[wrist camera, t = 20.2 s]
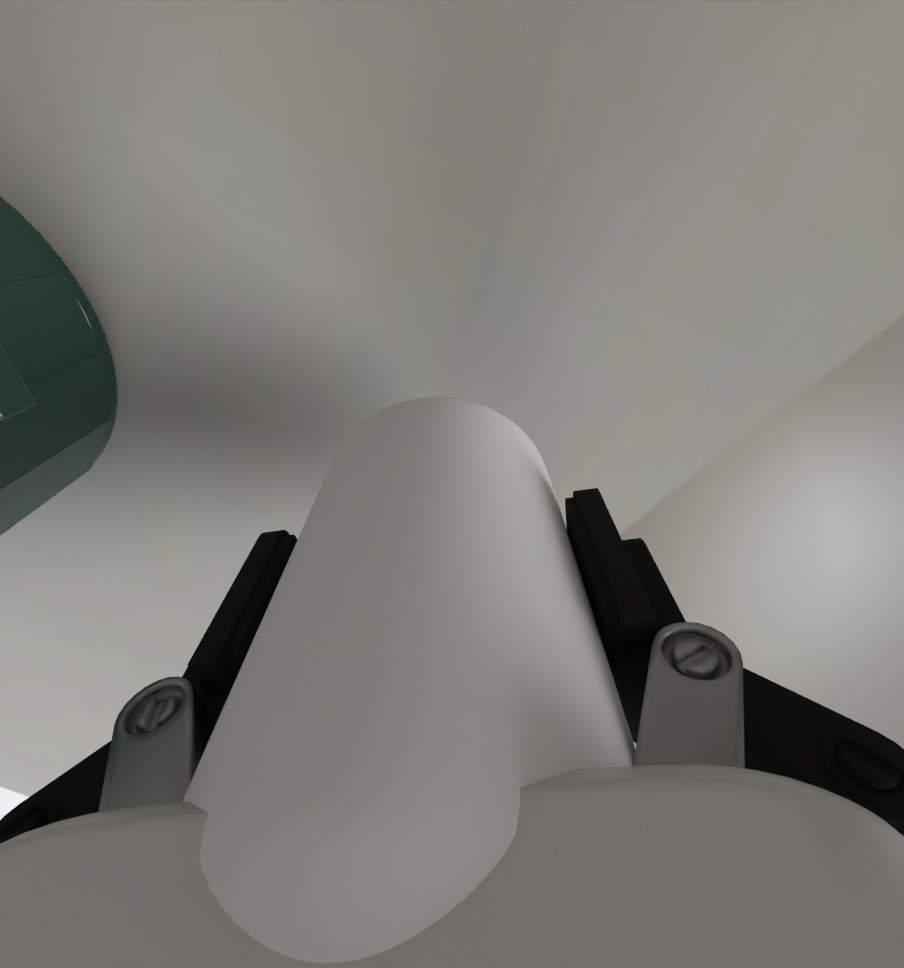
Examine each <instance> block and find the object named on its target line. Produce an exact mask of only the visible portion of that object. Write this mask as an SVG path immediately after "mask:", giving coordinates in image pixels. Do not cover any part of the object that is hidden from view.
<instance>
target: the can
mask: <svg viewBox="0 0 904 968" xmlns="http://www.w3.org/2000/svg"><path fill="white" fill-rule="evenodd" d="M635 751H636V750H635V747H634V743H633V740H632V737H631V733H630V730H629V727H628V724H627V721H626V717H625V714H624V711H623V708H622V705H621V701H620V698H619V695H618V692H617V689H616V685H615V682H614V679H613V676H612V672H611V669H610V666H609V663H608V660H607V657H606V653H605V650H604V647H603V644H602V641H601V637H600V634H599V631H598V628H597V625H596V622H595V618H594V615H593V612H592V609H591V606H590V603H589V599H588V596H587V593H586V590H585V587H584V583H583V580H582V577H581V574H580V571H579V568H578V565H577V561H576V558H575V555H574V552H573V549H572V546H571V543H570V539H569V536H568V533H567V530H566V527H565V524H564V521H563V518H562V514H561V511H560V508H559V505H558V502H557V499H556V496H555V493H554V490H553V487H552V484H551V481H550V478H549V475H548V472H547V469H546V467H545V464H544V462H543V460H542V457H541V455H540V454H539V452H538V450H537V448H536V447H535V445H534V444H533V442H532V441H531V440H530V438H529V437H528V436H527V435H526V434H525V433H524V432H523V431H522V430H521V429H520V428H519V427H518V426H517V425H516V424H515V423H513V422H512V421H511V420H509V419H508V418H506V417H505V416H503V415H502V414H500V413H498V412H496V411H494V410H492V409H490V408H488V407H486V406H483V405H480V404H477V403H474V402H471V401H467V400H462V399H456V398H447V397H428V398H419V399H413V400H408V401H404V402H401V403H398V404H395V405H392V406H390V407H387V408H385V409H383V410H381V411H379V412H377V413H376V414H374V415H372V416H371V417H369V418H368V419H366V420H365V421H364V422H363V423H361V424H360V425H359V426H358V427H357V428H356V429H355V430H354V431H353V432H352V433H351V434H350V435H349V437H348V438H347V439H346V441H345V442H344V444H343V445H342V447H341V448H340V450H339V452H338V453H337V455H336V457H335V459H334V461H333V463H332V465H331V467H330V470H329V472H328V474H327V476H326V478H325V480H324V483H323V485H322V487H321V489H320V491H319V494H318V496H317V498H316V500H315V502H314V505H313V507H312V509H311V511H310V514H309V516H308V518H307V520H306V522H305V525H304V527H303V529H302V531H301V534H300V536H299V538H298V540H297V543H296V545H295V547H294V549H293V551H292V554H291V556H290V558H289V560H288V563H287V565H286V567H285V569H284V572H283V574H282V576H281V578H280V581H279V583H278V585H277V587H276V590H275V592H274V594H273V596H272V599H271V601H270V603H269V605H268V608H267V610H266V612H265V614H264V617H263V619H262V621H261V623H260V626H259V628H258V630H257V632H256V635H255V637H254V639H253V641H252V644H251V646H250V648H249V650H248V653H247V655H246V657H245V660H244V662H243V664H242V666H241V669H240V671H239V673H238V675H237V678H236V680H235V682H234V685H233V687H232V689H231V691H230V694H229V696H228V698H227V700H226V703H225V705H224V707H223V710H222V712H221V714H220V716H219V719H218V721H217V723H216V725H215V728H214V730H213V732H212V734H211V737H210V739H209V741H208V744H207V746H206V748H205V751H204V753H203V755H202V757H201V760H200V762H199V764H198V767H197V769H196V771H195V774H194V776H193V778H192V781H191V783H190V785H189V787H188V790H187V792H186V794H185V797H184V799H183V801H182V802H188V801H190V802H191V803H192V804H194V805H196V806H197V807H199V808H201V809H203V810H204V811H206V812H209V815H208V818H207V821H206V824H205V827H204V833H203V838H202V844H201V849H200V855H199V858H200V863H201V867H202V871H203V874H204V876H205V878H206V881H207V883H208V885H209V887H210V889H211V891H212V893H213V894H214V896H215V898H216V899H217V901H218V902H219V904H220V905H221V907H222V908H223V909H224V910H225V911H226V913H227V914H228V915H229V916H230V917H231V919H232V920H233V921H234V922H235V923H236V924H237V925H238V926H239V927H241V928H242V929H243V930H244V931H245V932H246V933H247V934H248V935H250V936H251V937H252V938H254V939H255V940H257V941H258V942H259V943H261V944H262V945H264V946H266V947H268V948H270V949H271V950H273V951H275V952H278V953H280V954H283V955H285V956H288V957H290V958H294V959H297V960H301V961H305V962H312V963H322V964H323V963H340V962H347V961H353V960H359V959H362V958H365V957H369V956H372V955H375V954H378V953H380V952H382V951H385V950H387V949H390V948H393V947H395V946H397V945H399V944H401V943H402V942H404V941H406V940H408V939H410V938H412V937H414V936H415V935H417V934H418V933H420V932H422V931H423V930H425V929H426V928H428V927H429V926H431V925H432V924H434V923H435V922H436V921H438V920H439V919H440V918H442V917H443V916H444V915H446V914H447V913H448V912H450V911H451V910H452V909H453V908H454V907H456V906H457V905H458V904H459V903H460V902H461V901H462V900H464V899H465V898H466V897H467V896H468V895H469V894H470V893H471V892H472V891H473V890H474V889H475V888H476V887H477V886H478V885H479V884H480V883H481V882H482V881H483V880H484V879H485V878H486V877H487V875H488V874H489V873H490V872H491V870H492V869H493V868H494V867H495V865H496V864H497V863H498V862H499V860H500V859H501V858H502V856H503V855H504V854H505V852H506V851H507V849H508V847H509V845H510V844H511V842H512V840H513V838H514V836H515V835H516V829H517V822H518V816H519V809H520V788H521V787H524V786H527V785H530V784H533V783H535V782H538V781H541V780H544V779H547V778H550V777H553V776H556V775H559V774H562V773H565V772H568V771H571V770H576V769H593V768H610V767H627V766H633V764H634V758H635Z"/></svg>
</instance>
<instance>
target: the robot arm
mask: <svg viewBox="0 0 904 968" xmlns="http://www.w3.org/2000/svg"><path fill="white" fill-rule="evenodd" d="M565 506H566V523H567V533H568V536H569V539H570V543H571V546H572V549H573V552H574V555H575V558H576V561H577V565H578V568H579V571H580V574H581V577H582V580H583V583H584V587H585V590H586V593H587V596H588V599H589V603H590V606H591V609H592V612H593V615H594V618H595V622H596V625H597V628H598V631H599V634H600V637H601V641H602V644H603V647H604V650H605V653H606V657H607V660H608V663H609V666H610V669H611V672H612V676H613V679H614V682H615V685H616V689H617V692H618V695H619V698H620V701H621V705H622V708H623V711H624V714H625V717H626V721H627V724H628V727H629V730H630V733H631V737H632V740H633V742H635V743H636V744H637V745H636V751H635V758H634V764H633V766H627V767H610V768H593V769H576V770H571V771H568V772H565V773H562V774H559V775H556V776H553V777H550V778H547V779H544V780H541V781H538V782H535V783H533V784H530V785H527V786H524V787H521V788H520V809H519V816H518V822H517V829H516V835H515V836H514V838H513V840H512V842H511V844H510V845H509V847H508V849H507V851H506V852H505V854H504V855H503V856H502V858H501V859H500V860H499V862H498V863H497V864H496V865H495V867H494V868H493V869H492V870H491V872H490V873H489V874H488V875H487V877H486V878H485V879H484V880H483V881H482V882H481V883H480V884H479V885H478V886H477V887H476V888H475V889H474V890H473V891H472V892H471V893H470V894H469V895H468V896H467V897H466V898H465V899H464V900H462V901H461V902H460V903H459V904H458V905H457V906H456V907H454V908H453V909H452V910H451V911H450V912H448V913H447V914H446V915H444V916H443V917H442V918H440V919H439V920H438V921H436V922H435V923H434V924H432V925H431V926H429V927H428V928H426V929H425V930H423V931H422V932H420V933H418V934H417V935H415V936H414V937H412V938H410V939H408V940H406V941H404V942H402V943H401V944H399V945H397V946H395V947H393V948H390V949H387V950H385V951H382V952H380V953H378V954H375V955H372V956H369V957H365V958H362V959H359V960H353V961H347V962H340V963H323V964H322V963H312V962H305V961H301V960H297V959H294V958H290V957H288V956H285V955H283V954H280V953H278V952H275V951H273V950H271V949H270V948H268V947H266V946H264V945H262V944H261V943H259V942H258V941H257V940H255V939H254V938H252V937H251V936H250V935H248V934H247V933H246V932H245V931H244V930H243V929H242V928H241V927H239V926H238V925H237V924H236V923H235V922H234V921H233V920H232V919H231V917H230V916H229V915H228V914H227V913H226V911H225V910H224V909H223V908H222V907H221V905H220V904H219V902H218V901H217V899H216V898H215V896H214V894H213V893H212V891H211V889H210V887H209V885H208V883H207V881H206V878H205V876H204V874H203V871H202V867H201V863H200V858H199V855H200V849H201V844H202V838H203V833H204V827H205V824H206V821H207V818H208V815H209V812H206V811H204V810H203V809H201V808H199V807H197V806H196V805H194V804H192V803H191V802H190V801H188V802H182V801H183V799H184V797H185V794H186V792H187V790H188V787H189V785H190V783H191V781H192V778H193V776H194V774H195V771H196V769H197V767H198V764H199V762H200V760H201V757H202V755H203V753H204V751H205V748H206V746H207V744H208V741H209V739H210V737H211V734H212V732H213V730H214V728H215V725H216V723H217V721H218V719H219V716H220V714H221V712H222V710H223V707H224V705H225V703H226V700H227V698H228V696H229V694H230V691H231V689H232V687H233V685H234V682H235V680H236V678H237V675H238V673H239V671H240V669H241V666H242V664H243V662H244V660H245V657H246V655H247V653H248V650H249V648H250V646H251V644H252V641H253V639H254V637H255V635H256V632H257V630H258V628H259V626H260V623H261V621H262V619H263V617H264V614H265V612H266V610H267V608H268V605H269V603H270V601H271V599H272V596H273V594H274V592H275V590H276V587H277V585H278V583H279V581H280V578H281V576H282V574H283V572H284V569H285V567H286V565H287V563H288V560H289V558H290V556H291V554H292V551H293V549H294V547H295V545H296V543H297V538H296V537H295V535H289V533H288V532H287V531H285V530H281V531H273V532H266V533H262V534H261V535H260V536H259V538H258V539H257V541H256V543H255V545H254V547H253V548H252V550H251V552H250V554H249V556H248V557H247V559H246V561H245V563H244V565H243V566H242V568H241V570H240V572H239V573H238V575H237V577H236V579H235V581H234V582H233V584H232V586H231V588H230V590H229V591H228V593H227V595H226V597H225V599H224V600H223V602H222V604H221V606H220V608H219V609H218V611H217V613H216V615H215V617H214V618H213V620H212V622H211V624H210V626H209V627H208V629H207V631H206V633H205V634H204V636H203V638H202V640H201V642H200V643H199V645H198V647H197V649H196V651H195V652H194V654H193V656H192V658H191V660H190V661H189V663H188V667H187V669H186V671H185V673H184V675H183V676H182V678H181V677H168V678H165V679H162V680H158V681H156V682H154V683H152V684H150V685H148V686H147V687H145V688H144V689H142V690H141V691H140V692H138V693H137V694H136V695H134V696H133V697H132V698H131V699H130V700H129V701H128V702H127V703H126V705H125V706H124V707H123V709H122V710H121V712H120V713H119V715H118V717H117V720H116V722H115V725H114V731H113V736H112V741H110V742H109V743H107V744H106V745H104V746H103V747H101V748H100V749H98V750H97V751H96V752H94V753H93V754H91V755H90V756H88V757H87V758H85V759H84V760H83V761H81V762H80V763H78V764H77V765H75V766H74V767H72V768H71V769H70V770H68V771H67V772H65V773H64V774H62V775H61V776H59V777H58V778H57V779H55V780H54V781H52V782H51V783H49V784H48V785H46V786H45V787H44V788H42V789H41V790H39V791H38V792H36V793H35V794H33V795H32V796H31V797H29V798H28V799H26V800H25V801H23V802H22V803H20V804H19V805H18V806H17V807H16V808H14V809H13V810H11V811H10V812H9V813H8V814H6V815H5V816H4V817H3V818H2V819H1V820H0V968H904V749H902V748H901V747H900V746H899V745H898V744H897V743H895V742H894V741H892V740H890V739H888V738H887V737H885V736H883V735H882V734H880V733H878V732H876V731H874V730H872V729H870V728H868V727H866V726H864V725H862V724H860V723H857V722H855V721H853V720H851V719H849V718H847V717H845V716H843V715H841V714H839V713H836V712H835V711H832V710H830V709H828V708H826V707H824V706H822V705H820V704H818V703H816V702H814V701H812V700H809V699H807V698H805V697H803V696H801V695H799V694H797V693H795V692H793V691H791V690H789V689H786V688H784V687H782V686H780V685H778V684H776V683H774V682H772V681H770V680H768V679H765V678H764V677H762V676H760V675H757V674H755V673H753V672H751V671H749V670H747V669H745V668H743V663H742V657H741V653H740V651H739V650H738V648H737V647H736V645H735V644H734V642H733V641H731V640H730V639H729V638H728V637H727V636H726V635H725V634H723V633H722V632H719V631H718V630H716V629H714V628H712V627H710V626H706V625H703V624H699V623H691V622H686V621H685V619H684V618H683V615H682V613H681V611H680V610H679V608H678V606H677V604H676V602H675V600H674V598H673V596H672V594H671V593H670V591H669V588H668V586H667V585H666V583H665V581H664V579H663V577H662V575H661V573H660V571H659V569H658V567H657V565H656V563H655V561H654V560H653V558H652V556H651V554H650V552H649V550H648V548H647V546H646V544H645V543H644V541H643V540H642V539H641V538H638V539H629V540H621V537H620V535H619V533H618V531H617V529H616V527H615V524H614V522H613V520H612V518H611V516H610V513H609V511H608V509H607V507H606V505H605V503H604V500H603V498H602V496H601V494H600V492H599V490H598V489H597V488H595V489H587V490H580V491H574V492H573V498H566V500H565Z"/></svg>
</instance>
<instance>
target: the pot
mask: <svg viewBox="0 0 904 968" xmlns="http://www.w3.org/2000/svg"><path fill="white" fill-rule="evenodd" d="M116 403H117V399H116V379H115V374H114V368H113V363H112V358H111V355H110V351H109V348H108V345H107V342H106V339H105V335H104V333H103V331H102V328H101V326H100V324H99V322H98V319H97V317H96V315H95V313H94V310H93V308H92V307H91V305H90V303H89V301H88V300H87V298H86V296H85V294H84V293H83V291H82V289H81V287H80V286H79V284H78V283H77V281H76V280H75V278H74V277H73V275H72V274H71V273H70V271H69V270H68V268H67V267H66V265H65V264H64V263H63V261H62V260H61V258H60V257H59V256H58V255H57V254H56V252H55V251H54V250H53V249H52V248H51V247H50V245H49V244H48V243H47V242H46V241H45V239H44V238H43V237H42V236H41V235H40V234H39V232H38V231H37V230H35V229H34V228H33V227H32V226H31V225H30V224H29V223H28V222H27V221H26V220H25V219H24V218H23V217H22V216H21V215H20V214H19V213H18V212H17V211H16V210H15V209H14V208H13V207H12V206H11V205H10V204H8V203H7V202H6V201H5V200H4V199H2V198H1V197H0V535H1V534H3V533H4V532H5V531H7V530H8V529H10V528H11V527H12V526H14V525H15V524H16V523H18V522H19V521H20V520H22V519H23V518H24V517H26V516H27V515H29V514H30V513H31V512H33V511H34V510H35V509H37V508H38V507H39V506H41V505H42V504H43V503H45V502H46V501H48V500H49V499H50V498H52V497H53V496H54V495H56V494H57V493H58V492H60V491H61V490H62V489H64V488H65V487H67V486H68V485H69V484H71V483H72V482H73V481H75V480H76V479H77V478H79V477H80V476H81V475H83V474H84V473H86V472H87V471H88V470H90V468H91V467H92V465H93V463H94V462H95V461H96V460H97V458H98V457H99V456H100V455H101V453H102V451H103V449H104V447H105V445H106V444H107V442H108V440H109V437H110V434H111V430H112V427H113V424H114V420H115V411H116Z"/></svg>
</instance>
